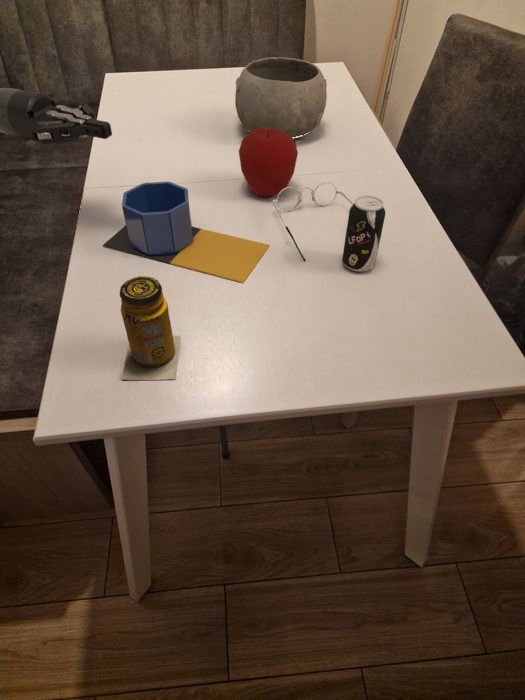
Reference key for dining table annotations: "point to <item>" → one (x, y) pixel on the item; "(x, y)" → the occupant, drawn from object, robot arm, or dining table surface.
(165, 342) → the condiment
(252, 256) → the place mat
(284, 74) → the bowl
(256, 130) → the apple
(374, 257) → the beverage can
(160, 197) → the glazed bowl
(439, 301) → the dining table surface
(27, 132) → the robot arm
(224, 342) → the dining table surface
